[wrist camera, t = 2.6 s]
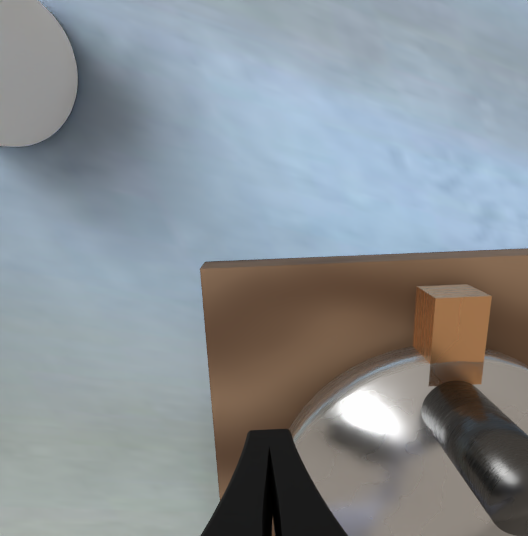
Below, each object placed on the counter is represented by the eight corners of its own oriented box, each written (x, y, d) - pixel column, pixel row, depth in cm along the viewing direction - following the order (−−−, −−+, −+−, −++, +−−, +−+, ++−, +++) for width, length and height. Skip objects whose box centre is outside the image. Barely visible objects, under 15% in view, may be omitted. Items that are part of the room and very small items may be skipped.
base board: (540, 551, 22) (653, 699, 16) (230, 565, 22) (217, 718, 16) (598, 245, 17) (792, 279, 11) (205, 261, 17) (173, 305, 11)
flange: (552, 590, 17) (682, 769, 12) (278, 601, 17) (286, 786, 12) (617, 278, 14) (849, 337, 8) (265, 292, 14) (269, 361, 8)
